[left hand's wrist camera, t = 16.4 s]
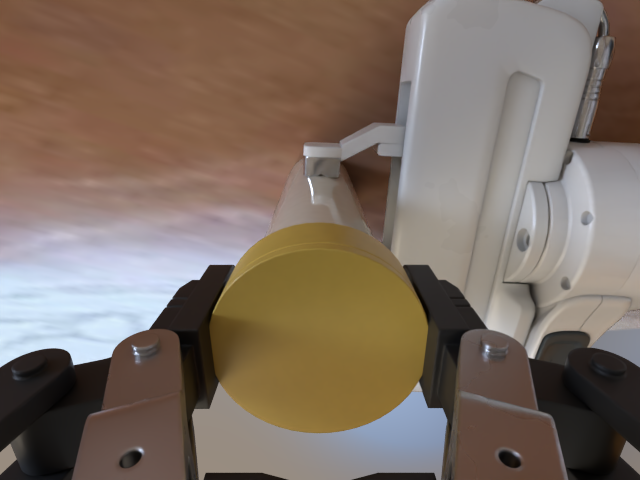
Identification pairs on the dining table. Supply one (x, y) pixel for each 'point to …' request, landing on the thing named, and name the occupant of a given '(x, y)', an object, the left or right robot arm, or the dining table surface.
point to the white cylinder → (318, 202)
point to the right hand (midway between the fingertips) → (302, 214)
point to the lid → (318, 330)
